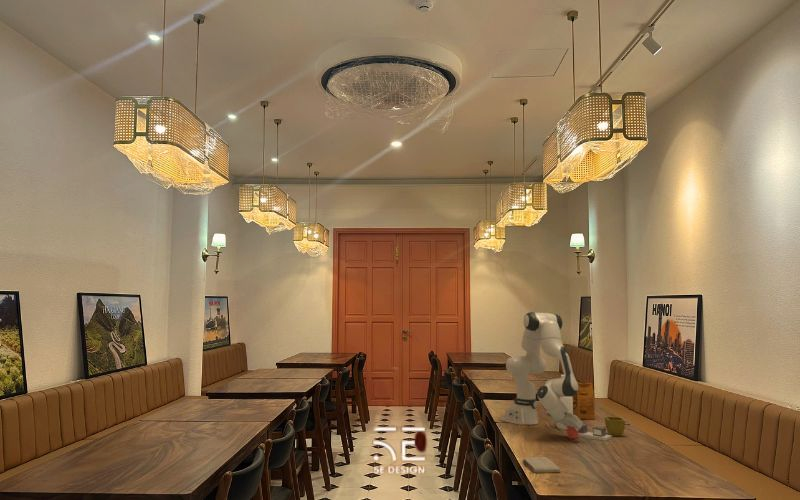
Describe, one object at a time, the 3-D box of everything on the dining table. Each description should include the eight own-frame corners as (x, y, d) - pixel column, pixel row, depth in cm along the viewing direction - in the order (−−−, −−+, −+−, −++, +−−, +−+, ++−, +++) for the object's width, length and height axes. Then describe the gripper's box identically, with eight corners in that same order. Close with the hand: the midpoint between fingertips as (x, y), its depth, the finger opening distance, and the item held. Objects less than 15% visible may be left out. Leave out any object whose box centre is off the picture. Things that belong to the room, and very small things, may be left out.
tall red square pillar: (572, 438, 293) (572, 423, 294) (567, 437, 296) (567, 421, 297) (578, 438, 295) (578, 422, 295) (573, 436, 298) (572, 421, 299)
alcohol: (571, 427, 321) (570, 374, 324) (574, 430, 312) (573, 376, 315) (555, 426, 322) (555, 373, 324) (558, 430, 313) (557, 375, 316)
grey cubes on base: (569, 434, 301) (568, 424, 302) (574, 432, 308) (574, 422, 308) (606, 441, 289) (606, 430, 289) (611, 438, 295) (611, 427, 295)
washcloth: (546, 462, 251) (546, 455, 251) (561, 474, 233) (561, 466, 233) (520, 462, 250) (520, 455, 250) (534, 474, 232) (534, 467, 232)
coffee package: (571, 416, 351) (570, 381, 353) (590, 416, 351) (590, 381, 353) (576, 420, 341) (575, 383, 343) (596, 420, 341) (595, 383, 343)
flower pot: (621, 433, 306) (620, 416, 307) (626, 437, 297) (625, 420, 298) (604, 433, 307) (604, 416, 308) (608, 436, 298) (608, 419, 299)
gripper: (576, 410, 285) (591, 428, 288) (549, 403, 303) (563, 420, 306) (569, 419, 282) (584, 438, 286) (543, 412, 301) (557, 429, 304)
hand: (573, 428), depth 296 cm, fingers closed on tall red square pillar, 4 cm apart
